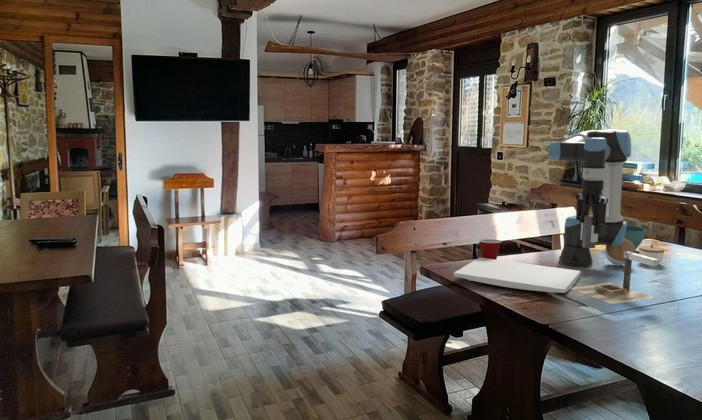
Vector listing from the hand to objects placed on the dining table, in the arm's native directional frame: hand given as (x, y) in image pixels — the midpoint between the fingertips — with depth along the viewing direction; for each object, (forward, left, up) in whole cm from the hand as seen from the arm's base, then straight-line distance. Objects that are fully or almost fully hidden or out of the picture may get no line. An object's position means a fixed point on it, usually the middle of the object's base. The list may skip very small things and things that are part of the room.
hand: (588, 240), depth 211 cm
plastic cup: (-59, -2, -23) cm, 63 cm away
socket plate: (+1, +12, -23) cm, 26 cm away
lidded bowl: (-37, +55, -20) cm, 70 cm away
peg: (0, 0, -3) cm, 3 cm away
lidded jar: (-31, +71, -23) cm, 81 cm away
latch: (+7, +20, -8) cm, 22 cm away
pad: (-1, -5, -23) cm, 23 cm away
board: (-29, -9, -23) cm, 38 cm away
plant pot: (-57, +83, -23) cm, 103 cm away
